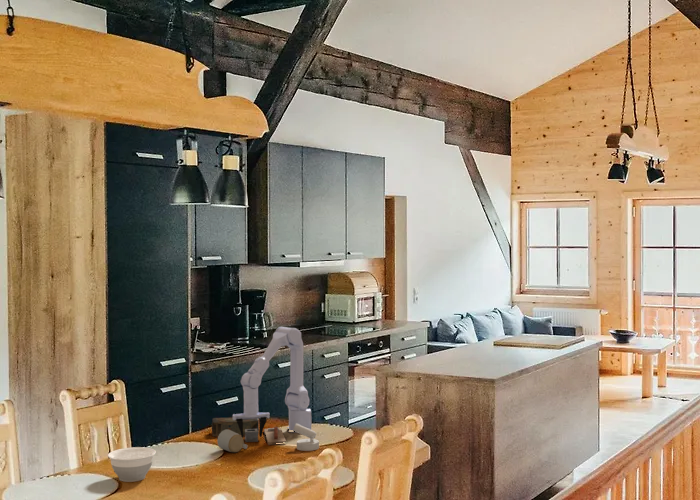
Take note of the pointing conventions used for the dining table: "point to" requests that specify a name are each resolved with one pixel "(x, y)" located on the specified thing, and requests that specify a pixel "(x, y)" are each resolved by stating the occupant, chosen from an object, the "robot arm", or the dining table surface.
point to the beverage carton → (232, 425)
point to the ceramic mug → (231, 441)
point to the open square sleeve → (251, 435)
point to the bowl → (131, 462)
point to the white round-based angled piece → (306, 443)
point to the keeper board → (274, 435)
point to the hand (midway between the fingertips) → (251, 436)
